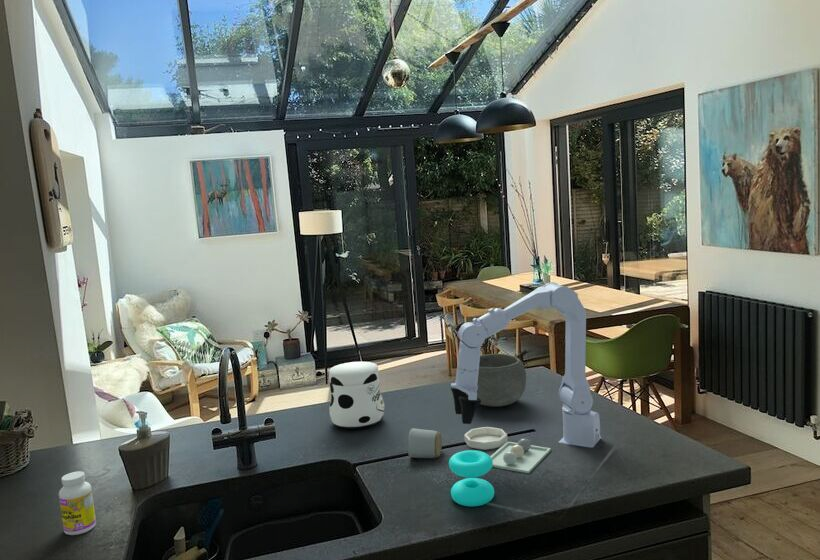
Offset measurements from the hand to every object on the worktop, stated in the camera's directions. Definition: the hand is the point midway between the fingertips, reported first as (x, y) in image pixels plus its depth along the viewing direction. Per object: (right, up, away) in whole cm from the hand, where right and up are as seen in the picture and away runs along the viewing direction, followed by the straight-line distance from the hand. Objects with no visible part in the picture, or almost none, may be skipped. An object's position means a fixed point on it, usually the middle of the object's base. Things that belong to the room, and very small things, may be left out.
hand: (463, 418), depth 170 cm
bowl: (+14, -4, +41) cm, 43 cm away
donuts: (0, -14, -22) cm, 26 cm away
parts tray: (+14, -10, -3) cm, 17 cm away
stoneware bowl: (+7, -9, +9) cm, 15 cm away
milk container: (-30, -9, +33) cm, 46 cm away
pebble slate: (+16, -9, 0) cm, 19 cm away
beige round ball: (+14, -9, -4) cm, 17 cm away
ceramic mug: (-10, -11, +4) cm, 15 cm away
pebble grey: (+11, -10, -7) cm, 17 cm away
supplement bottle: (-89, -20, -23) cm, 95 cm away
